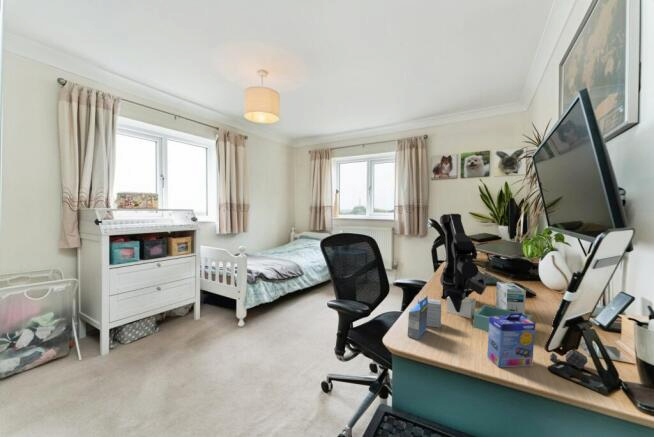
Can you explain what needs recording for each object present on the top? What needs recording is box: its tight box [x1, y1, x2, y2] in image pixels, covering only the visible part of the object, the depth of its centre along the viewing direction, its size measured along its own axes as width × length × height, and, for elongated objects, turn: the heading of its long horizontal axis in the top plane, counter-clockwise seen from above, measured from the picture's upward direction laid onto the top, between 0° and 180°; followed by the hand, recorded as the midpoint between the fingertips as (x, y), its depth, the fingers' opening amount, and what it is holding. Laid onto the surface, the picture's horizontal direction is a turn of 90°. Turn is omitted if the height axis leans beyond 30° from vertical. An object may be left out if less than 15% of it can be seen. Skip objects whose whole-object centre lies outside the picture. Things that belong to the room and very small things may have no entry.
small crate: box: [445, 296, 477, 319], centre depth 109 cm, size 9×6×6 cm, turn 47°
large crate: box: [473, 304, 533, 333], centre depth 96 cm, size 15×13×5 cm
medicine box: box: [417, 297, 442, 328], centre depth 99 cm, size 8×4×9 cm, turn 71°
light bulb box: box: [495, 281, 527, 314], centre depth 111 cm, size 11×7×11 cm, turn 168°
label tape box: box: [407, 295, 429, 340], centre depth 92 cm, size 9×4×12 cm, turn 145°
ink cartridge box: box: [487, 313, 536, 368], centre depth 75 cm, size 10×6×14 cm, turn 95°
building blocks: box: [549, 349, 589, 370], centre depth 75 cm, size 3×6×8 cm
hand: (460, 309), depth 110 cm, fingers closed on small crate, 6 cm apart
